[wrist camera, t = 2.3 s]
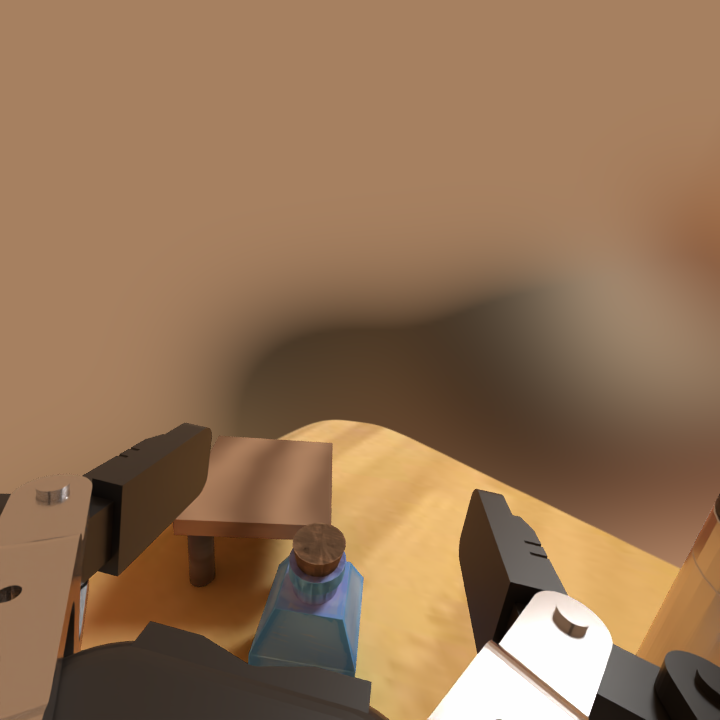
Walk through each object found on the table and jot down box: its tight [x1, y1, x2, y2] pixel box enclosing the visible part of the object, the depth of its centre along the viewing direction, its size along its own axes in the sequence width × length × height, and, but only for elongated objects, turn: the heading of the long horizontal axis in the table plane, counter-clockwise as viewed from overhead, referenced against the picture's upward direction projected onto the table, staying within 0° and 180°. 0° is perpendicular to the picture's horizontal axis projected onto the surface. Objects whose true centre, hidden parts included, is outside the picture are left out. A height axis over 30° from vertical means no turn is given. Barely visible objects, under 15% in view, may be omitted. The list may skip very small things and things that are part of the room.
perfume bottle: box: [248, 523, 363, 677], centre depth 24 cm, size 6×6×12 cm
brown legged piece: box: [173, 436, 332, 587], centre depth 36 cm, size 12×12×8 cm
